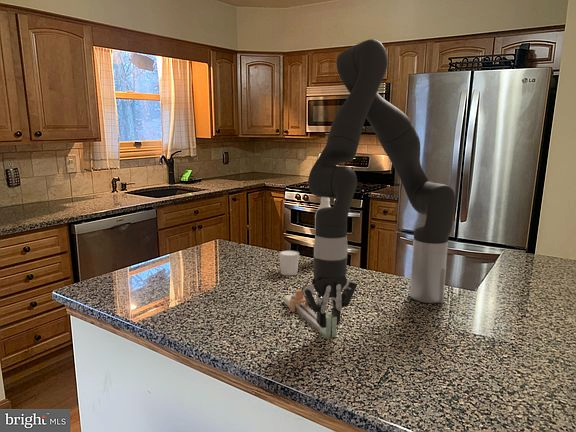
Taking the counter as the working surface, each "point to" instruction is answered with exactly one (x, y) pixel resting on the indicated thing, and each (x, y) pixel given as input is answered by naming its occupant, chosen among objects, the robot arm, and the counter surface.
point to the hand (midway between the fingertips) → (328, 325)
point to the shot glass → (289, 262)
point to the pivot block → (287, 300)
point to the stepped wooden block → (297, 300)
